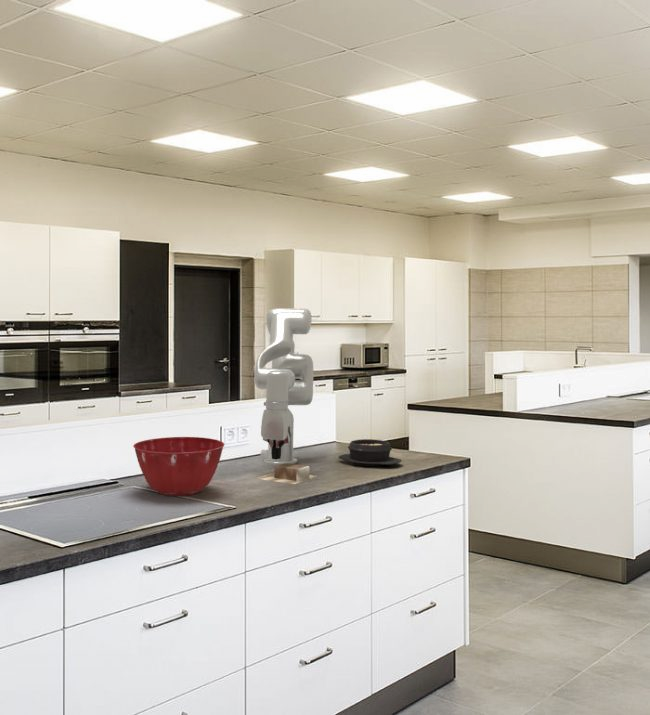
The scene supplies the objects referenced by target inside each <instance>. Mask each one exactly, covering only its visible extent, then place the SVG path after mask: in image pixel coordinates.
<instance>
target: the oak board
mask: <svg viewBox="0 0 650 715" xmlns="http://www.w3.org/2000/svg"><path fill="white" fill-rule="evenodd" d="M317 477H318V475H313V474H310V476H309V478H308V479H305V480H302V481H292V480H285V479H278V478H274V472H272V473H271V472H270V473H268V474H265V475H262V476H258V477H255V478H254V479H256V480H263V481H269V482H277V483H282V484H283V483H284V484H290V485H296V484H299V483H302V482H305V481H308V480H311V479H313V478H317Z"/></svg>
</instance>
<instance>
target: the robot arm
mask: <svg viewBox="0 0 650 715" xmlns="http://www.w3.org/2000/svg"><path fill="white" fill-rule="evenodd" d="M312 318H313V317H312V312H311V310H309V309H308V308H295V307H294V308H292V307H291V308H289V307H278V308H271V309H269V310H268V311H267V313H266V326H267V332H268V333H269V345H268V346H266V348H263V350H262V351H261V352H260V353H259V355H258V356H257V359H256V361H255V368H254V369H255V370H254V384H255V387H256V388H258V389H259V390H266V391H265V392H266V395H265V397H266V398H265V399H266V400H265V401H264V402H263V406H265V409H263V412H262V418H261V425H260V436H261V438H262V441H264V442H267V445H268V447H267V449H261V451H260V455H261V456H265V458H264V459H263V462H264V463H267V464H271V465H281V464H284V463H287V464H295V465H296V464H297V463H298V459H297V458H295V457H294V425H295V424H294V423H295V422H294V419H295V418H294V415H293V412H292V411H291V410H290V408H288V407H289V406H308V405H311V403H312V402H313V397H314V396H313V395H314V361H313V358H312V357H311V356H310V355H309V354H304V353H295V348H296V345H295V342H294V335H307V334H309V333H310V331H311V326H312V321H313V320H312ZM270 362H271V368H269V367H265V366H266V365H267V364H268V363H270ZM297 379H298V380H297Z"/></svg>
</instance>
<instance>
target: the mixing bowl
mask: <svg viewBox="0 0 650 715" xmlns="http://www.w3.org/2000/svg"><path fill="white" fill-rule="evenodd" d="M132 447H133V448H134V451H135V455H136V459H137V462H138V466H139V468H140V470H141V473H142V475H143V477H144V479H145V481H146V482H147V485H149V487H150V488H151V489H152V490H154V492H157V493H158V494H159V493H160V494H159V495H162V494H163V495H162V496H166V495H170V497H187V496H193V495H197V494H199V493H200V492H202V491H203V490H204V489H206V488H207V487H208V485H209V484H210V482H211V481H212V480H213V477H214V475H215V473H216V470H217V468H218V465H219V463H220V460H221V457H222V454H223V453H222V452H223V449H224V447H225V442H223V441H222V440H218V439H214V438H209V437H208V438H207V437H199V436H171V437H170V436H169V437H159V438H150V439H146V440H145V439H144V440H141V441H138V442H135V443H134V444H133V446H132Z"/></svg>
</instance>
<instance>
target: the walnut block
mask: <svg viewBox="0 0 650 715" xmlns="http://www.w3.org/2000/svg"><path fill="white" fill-rule="evenodd" d="M273 468H274V470H273V473H274V478H278V479H285V480H292V481H302V480H305V479H308V478H309V476H310V475H311V474H310V466H309V465H302V464H296V463H295V464H287V463H284V464H276V465H274V467H273Z"/></svg>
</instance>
